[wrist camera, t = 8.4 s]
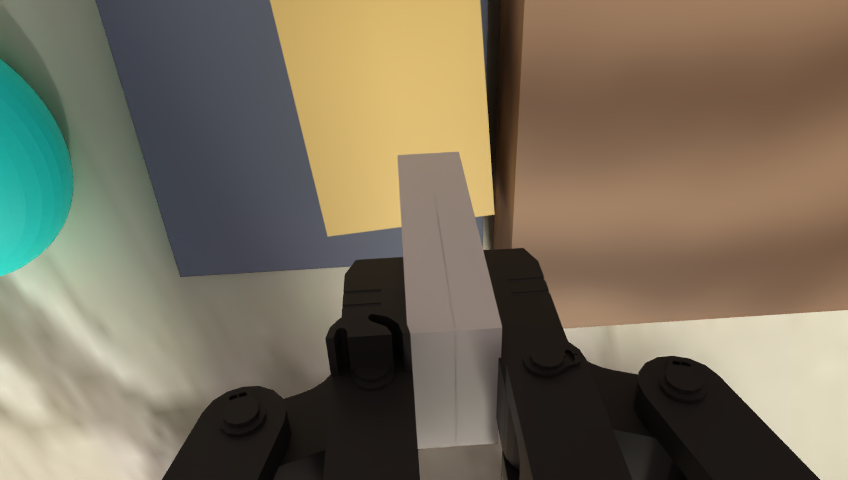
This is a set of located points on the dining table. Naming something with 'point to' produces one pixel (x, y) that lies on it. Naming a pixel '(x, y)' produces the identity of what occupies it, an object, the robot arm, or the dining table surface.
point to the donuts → (29, 173)
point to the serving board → (675, 155)
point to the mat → (228, 138)
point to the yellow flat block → (385, 99)
